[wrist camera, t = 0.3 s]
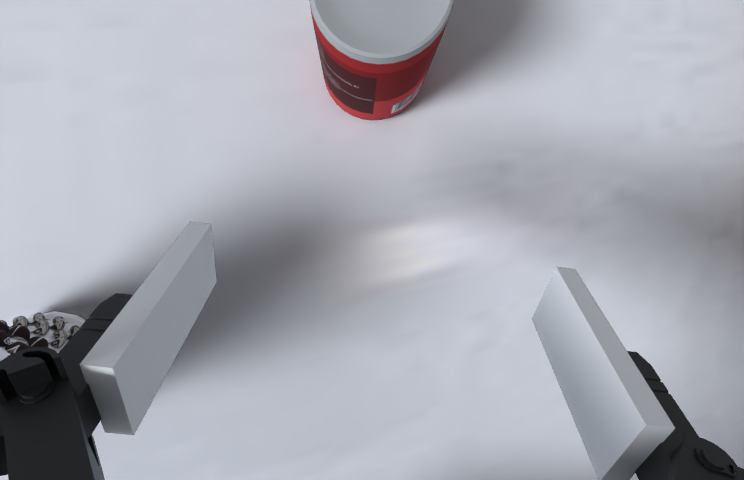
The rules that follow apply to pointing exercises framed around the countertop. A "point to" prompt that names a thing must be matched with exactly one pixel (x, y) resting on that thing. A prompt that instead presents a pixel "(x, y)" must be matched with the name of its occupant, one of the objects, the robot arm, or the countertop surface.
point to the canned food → (377, 51)
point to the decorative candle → (38, 332)
